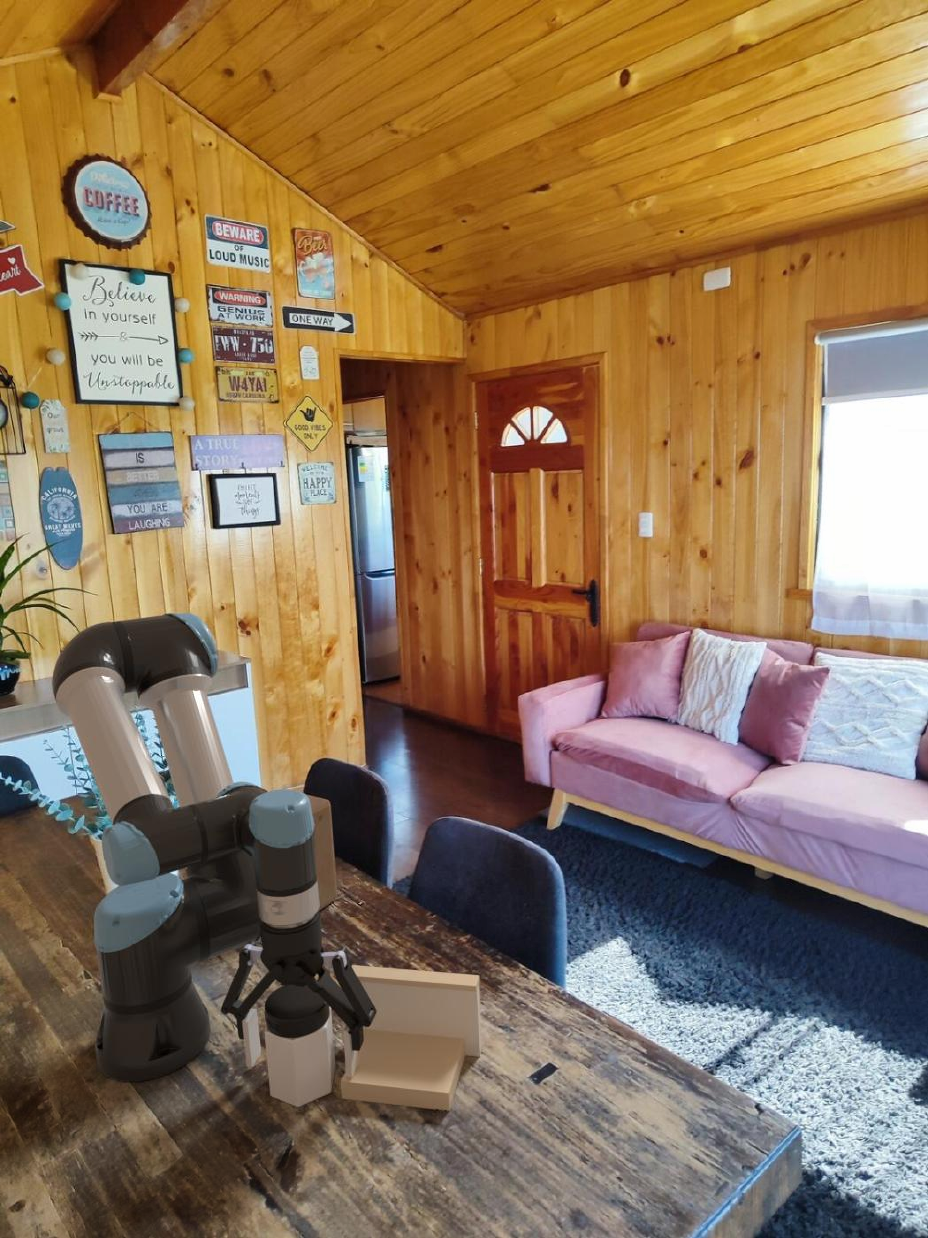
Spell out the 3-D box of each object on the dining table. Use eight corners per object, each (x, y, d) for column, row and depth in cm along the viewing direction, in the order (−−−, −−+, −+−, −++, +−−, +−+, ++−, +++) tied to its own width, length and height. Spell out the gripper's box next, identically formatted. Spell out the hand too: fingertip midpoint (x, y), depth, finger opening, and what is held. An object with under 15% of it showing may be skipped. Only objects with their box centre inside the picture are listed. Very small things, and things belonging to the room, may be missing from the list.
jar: (278, 1060, 112) (271, 980, 110) (338, 1056, 112) (332, 976, 110) (265, 1110, 103) (257, 1024, 101) (330, 1106, 103) (323, 1020, 101)
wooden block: (339, 899, 154) (332, 798, 151) (302, 925, 146) (293, 818, 142) (300, 887, 159) (292, 789, 156) (262, 911, 151) (253, 808, 148)
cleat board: (327, 1097, 105) (321, 1020, 103) (357, 1034, 116) (352, 965, 114) (465, 1113, 101) (461, 1034, 99) (482, 1047, 113) (479, 975, 111)
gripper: (183, 923, 102) (200, 1076, 106) (376, 937, 97) (386, 1096, 101) (213, 894, 109) (227, 1037, 113) (393, 905, 104) (403, 1054, 108)
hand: (302, 1065), depth 107 cm, fingers open, 13 cm apart
